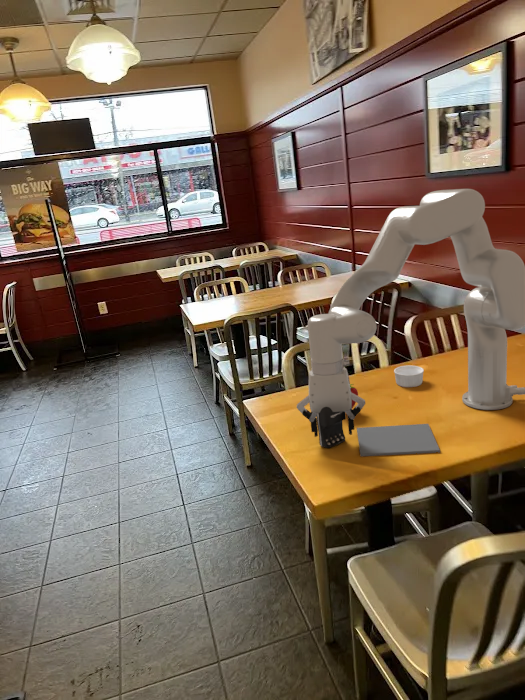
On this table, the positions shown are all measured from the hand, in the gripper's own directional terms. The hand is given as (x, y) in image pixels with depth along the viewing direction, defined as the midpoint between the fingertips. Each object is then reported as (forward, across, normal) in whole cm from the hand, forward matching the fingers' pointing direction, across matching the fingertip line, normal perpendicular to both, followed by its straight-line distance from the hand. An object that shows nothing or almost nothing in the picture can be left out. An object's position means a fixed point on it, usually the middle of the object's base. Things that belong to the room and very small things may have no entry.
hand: (333, 432), depth 128 cm
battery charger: (+3, 0, 0) cm, 3 cm away
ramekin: (+3, -24, -38) cm, 45 cm away
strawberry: (+3, -4, -18) cm, 19 cm away
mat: (+3, -15, 0) cm, 15 cm away
